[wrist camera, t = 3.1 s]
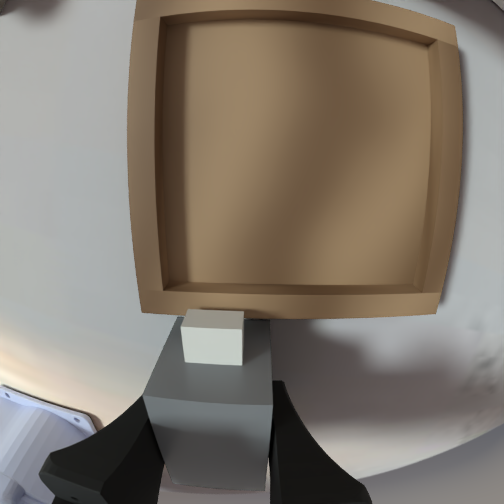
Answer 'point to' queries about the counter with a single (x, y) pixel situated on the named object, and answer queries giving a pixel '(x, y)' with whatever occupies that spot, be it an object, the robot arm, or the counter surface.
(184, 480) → the connector plug
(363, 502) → the robot arm
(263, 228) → the walnut tray
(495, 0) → the milk carton
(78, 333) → the counter surface
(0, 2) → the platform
